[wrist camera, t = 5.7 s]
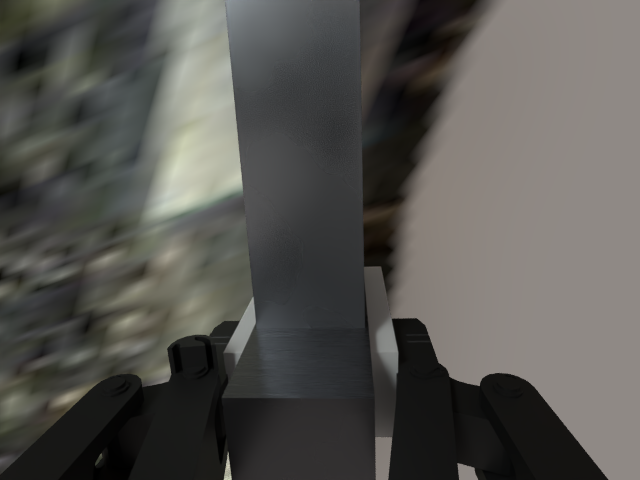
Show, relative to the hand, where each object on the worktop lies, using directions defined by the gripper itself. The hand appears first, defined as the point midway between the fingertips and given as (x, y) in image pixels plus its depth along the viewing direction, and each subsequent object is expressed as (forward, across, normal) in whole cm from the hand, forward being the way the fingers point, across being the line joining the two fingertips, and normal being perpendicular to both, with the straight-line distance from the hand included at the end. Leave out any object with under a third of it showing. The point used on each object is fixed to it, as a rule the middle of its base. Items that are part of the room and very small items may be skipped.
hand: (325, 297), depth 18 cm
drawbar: (-1, 0, +10) cm, 10 cm away
